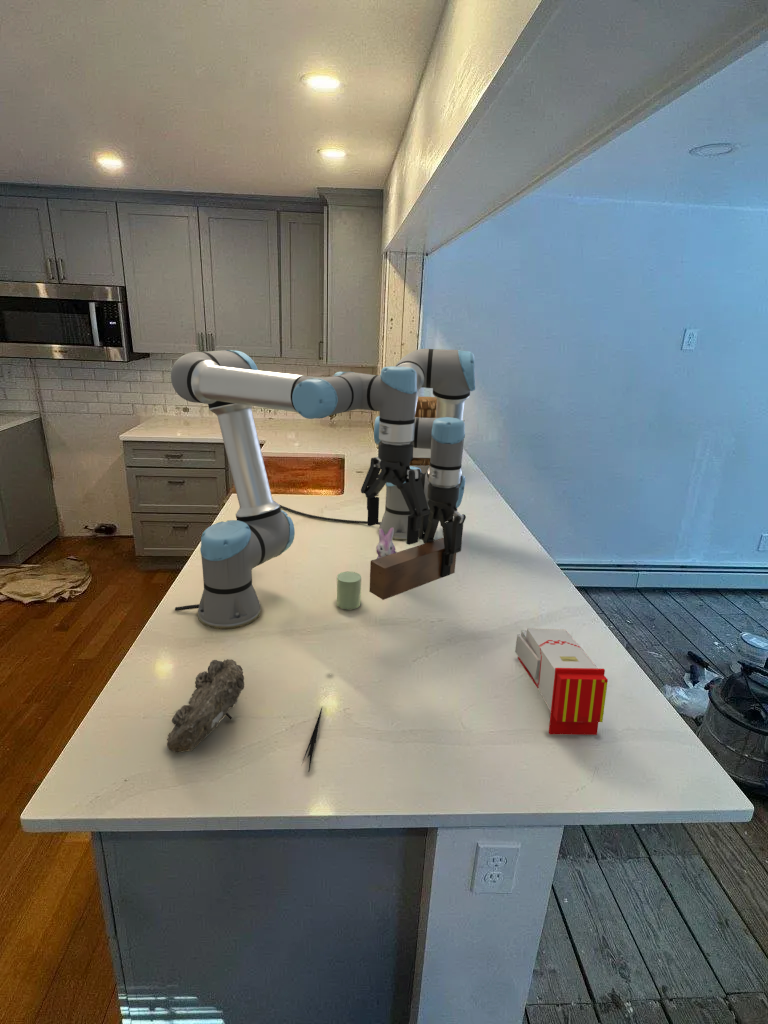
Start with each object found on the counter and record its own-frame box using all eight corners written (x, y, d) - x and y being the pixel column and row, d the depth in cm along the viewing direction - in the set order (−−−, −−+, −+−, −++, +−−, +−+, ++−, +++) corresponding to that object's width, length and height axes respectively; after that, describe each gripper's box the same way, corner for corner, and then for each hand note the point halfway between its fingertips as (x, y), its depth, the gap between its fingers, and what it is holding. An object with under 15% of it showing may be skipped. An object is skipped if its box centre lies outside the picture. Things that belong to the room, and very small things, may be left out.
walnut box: (383, 600, 129) (384, 568, 127) (369, 591, 133) (370, 560, 130) (454, 572, 144) (457, 544, 142) (440, 565, 148) (442, 537, 145)
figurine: (381, 586, 161) (383, 537, 156) (365, 571, 170) (367, 525, 165) (409, 580, 165) (412, 533, 160) (393, 566, 174) (395, 521, 169)
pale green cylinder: (331, 602, 152) (332, 575, 149) (350, 595, 156) (351, 569, 153) (346, 612, 147) (346, 584, 145) (365, 604, 151) (366, 577, 149)
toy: (561, 612, 132) (617, 675, 103) (556, 665, 135) (608, 741, 106) (510, 611, 132) (551, 674, 102) (505, 664, 134) (544, 741, 105)
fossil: (192, 660, 117) (244, 628, 112) (224, 691, 120) (276, 661, 115) (142, 746, 98) (202, 712, 93) (182, 779, 101) (242, 748, 96)
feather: (331, 679, 122) (336, 673, 122) (307, 777, 96) (313, 769, 95) (324, 675, 122) (329, 669, 121) (298, 772, 95) (304, 764, 95)
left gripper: (347, 432, 128) (345, 520, 135) (424, 455, 110) (417, 555, 117) (372, 429, 132) (369, 514, 140) (450, 451, 115) (443, 547, 122)
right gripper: (406, 476, 139) (401, 562, 147) (461, 496, 127) (452, 589, 135) (428, 472, 144) (422, 555, 152) (483, 490, 131) (473, 580, 139)
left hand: (391, 533), depth 128 cm, fingers open, 13 cm apart
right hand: (436, 571), depth 143 cm, fingers closed on walnut box, 5 cm apart
